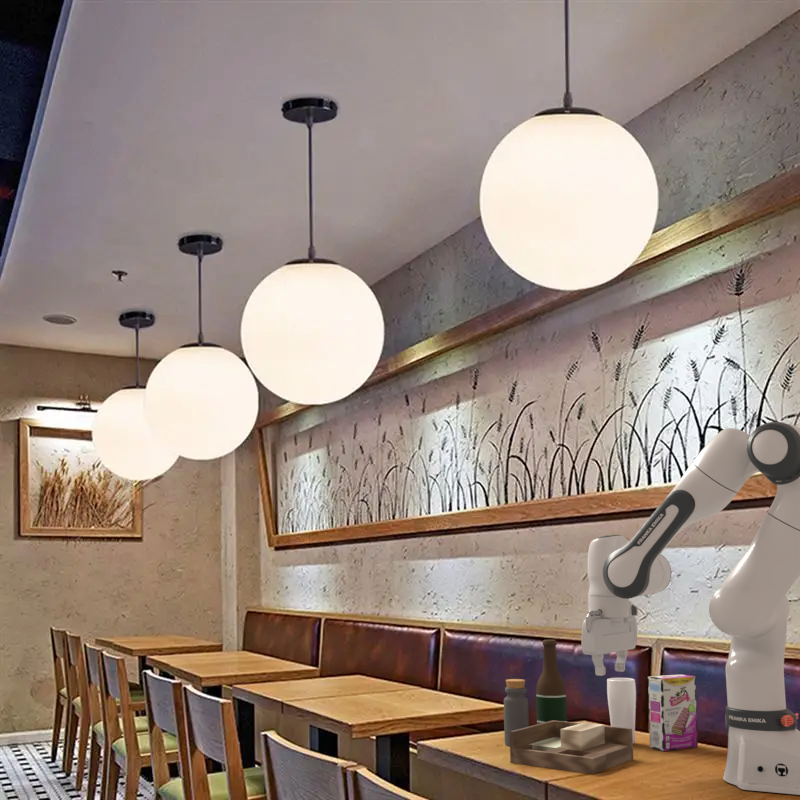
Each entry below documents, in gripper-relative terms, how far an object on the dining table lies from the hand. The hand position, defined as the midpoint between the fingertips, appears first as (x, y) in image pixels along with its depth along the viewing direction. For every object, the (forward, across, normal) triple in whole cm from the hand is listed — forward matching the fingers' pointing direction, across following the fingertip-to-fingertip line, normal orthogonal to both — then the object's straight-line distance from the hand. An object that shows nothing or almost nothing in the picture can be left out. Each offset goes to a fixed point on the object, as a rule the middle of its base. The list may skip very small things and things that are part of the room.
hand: (610, 673), depth 216 cm
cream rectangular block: (+16, 0, +7) cm, 18 cm away
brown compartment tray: (+19, -2, +8) cm, 21 cm away
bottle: (+20, +7, +28) cm, 35 cm away
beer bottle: (+20, +17, +24) cm, 36 cm away
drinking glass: (+19, +23, +8) cm, 31 cm away
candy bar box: (+19, +25, -4) cm, 32 cm away
